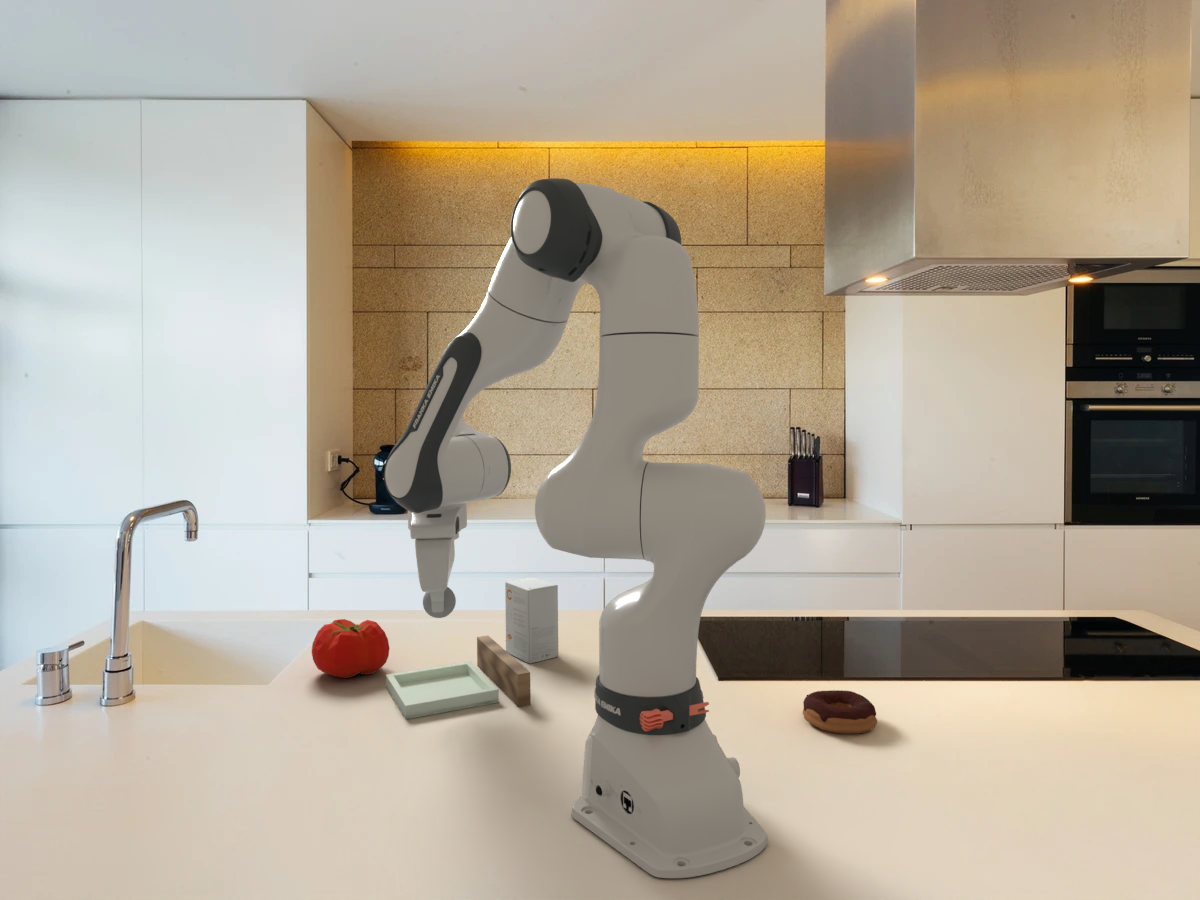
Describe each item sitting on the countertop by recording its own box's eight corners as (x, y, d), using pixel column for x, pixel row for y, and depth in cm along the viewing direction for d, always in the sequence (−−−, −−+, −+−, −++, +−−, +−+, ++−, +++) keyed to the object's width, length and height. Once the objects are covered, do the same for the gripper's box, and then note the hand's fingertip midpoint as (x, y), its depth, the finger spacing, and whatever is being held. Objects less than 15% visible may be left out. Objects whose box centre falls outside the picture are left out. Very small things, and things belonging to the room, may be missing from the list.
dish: (498, 702, 121) (498, 689, 121) (405, 719, 115) (405, 705, 115) (471, 673, 134) (471, 661, 134) (386, 686, 128) (385, 674, 127)
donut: (876, 714, 117) (877, 688, 116) (877, 743, 107) (878, 714, 107) (804, 706, 120) (805, 680, 119) (800, 733, 110) (800, 705, 110)
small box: (559, 657, 142) (558, 584, 141) (528, 664, 138) (528, 590, 137) (534, 645, 148) (534, 576, 147) (504, 652, 144) (504, 581, 143)
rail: (530, 704, 120) (530, 672, 120) (518, 707, 119) (517, 674, 119) (488, 663, 138) (488, 635, 138) (477, 665, 137) (476, 637, 137)
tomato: (294, 681, 130) (292, 630, 129) (342, 657, 142) (341, 610, 141) (360, 691, 126) (359, 637, 125) (404, 665, 138) (403, 616, 137)
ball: (461, 618, 123) (460, 586, 123) (430, 624, 120) (429, 591, 120) (448, 610, 127) (447, 579, 127) (418, 616, 124) (417, 584, 124)
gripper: (423, 506, 132) (425, 588, 133) (408, 529, 112) (411, 626, 113) (462, 505, 133) (463, 586, 134) (454, 528, 113) (456, 624, 114)
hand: (439, 605), depth 124 cm, fingers closed on ball, 5 cm apart
